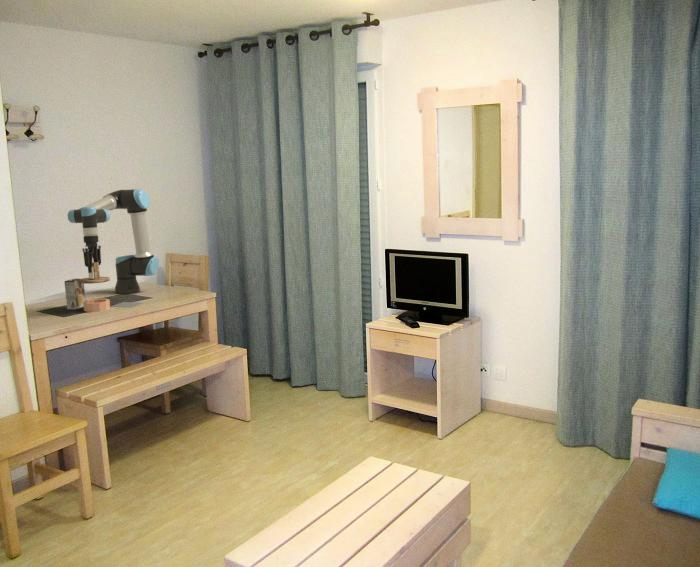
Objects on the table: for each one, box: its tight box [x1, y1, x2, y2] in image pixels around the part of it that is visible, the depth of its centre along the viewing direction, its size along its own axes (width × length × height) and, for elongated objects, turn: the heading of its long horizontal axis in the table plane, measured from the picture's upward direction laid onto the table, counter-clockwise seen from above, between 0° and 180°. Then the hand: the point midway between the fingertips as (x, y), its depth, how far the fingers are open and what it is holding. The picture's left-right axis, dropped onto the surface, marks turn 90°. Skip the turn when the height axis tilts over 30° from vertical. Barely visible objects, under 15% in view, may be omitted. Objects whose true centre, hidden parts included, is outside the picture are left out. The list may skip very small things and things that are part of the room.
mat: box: [110, 301, 144, 309], centre depth 391 cm, size 14×14×1 cm
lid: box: [79, 261, 111, 285], centre depth 376 cm, size 16×16×10 cm
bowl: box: [83, 298, 111, 313], centre depth 380 cm, size 13×13×5 cm
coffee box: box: [64, 278, 87, 310], centre depth 386 cm, size 9×6×16 cm
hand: (94, 277), depth 377 cm, fingers closed on lid, 4 cm apart
